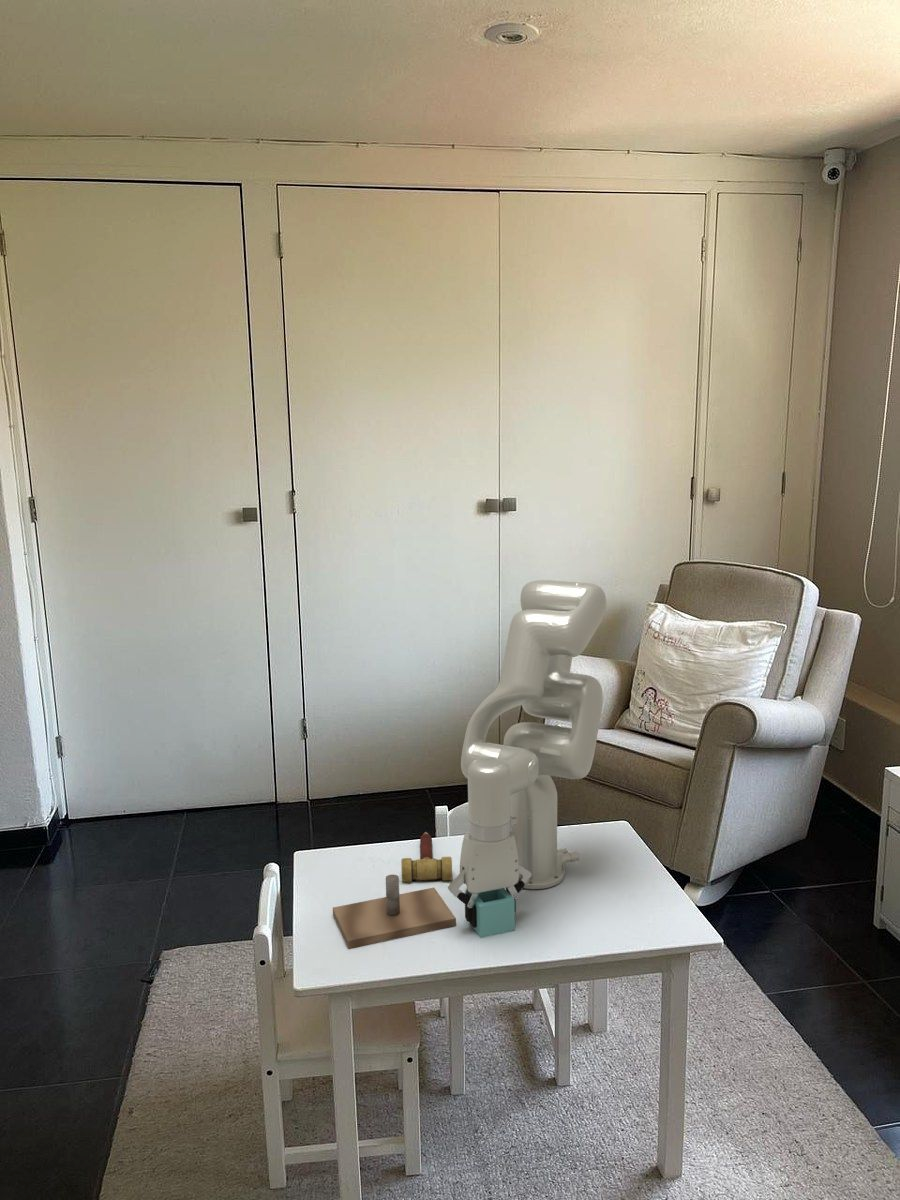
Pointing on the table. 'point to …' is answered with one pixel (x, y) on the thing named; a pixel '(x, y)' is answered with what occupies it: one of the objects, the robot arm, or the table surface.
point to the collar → (494, 912)
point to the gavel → (426, 864)
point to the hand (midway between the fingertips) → (490, 919)
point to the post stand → (392, 915)
